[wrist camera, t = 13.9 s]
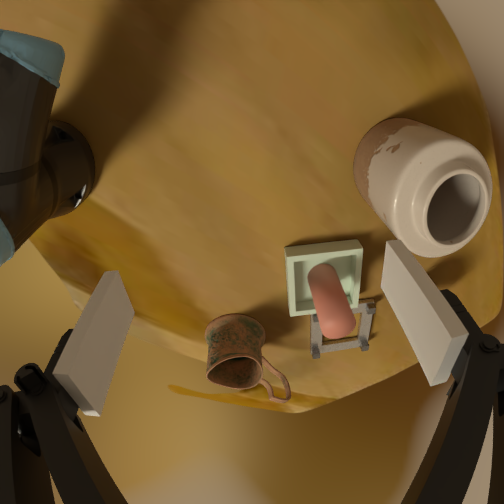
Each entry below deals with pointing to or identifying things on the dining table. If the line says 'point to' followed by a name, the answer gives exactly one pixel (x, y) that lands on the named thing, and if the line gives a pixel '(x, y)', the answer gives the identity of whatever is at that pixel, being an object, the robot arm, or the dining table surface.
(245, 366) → the mug
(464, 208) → the vase
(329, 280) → the pin
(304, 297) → the tray
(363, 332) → the plate
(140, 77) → the dining table surface
